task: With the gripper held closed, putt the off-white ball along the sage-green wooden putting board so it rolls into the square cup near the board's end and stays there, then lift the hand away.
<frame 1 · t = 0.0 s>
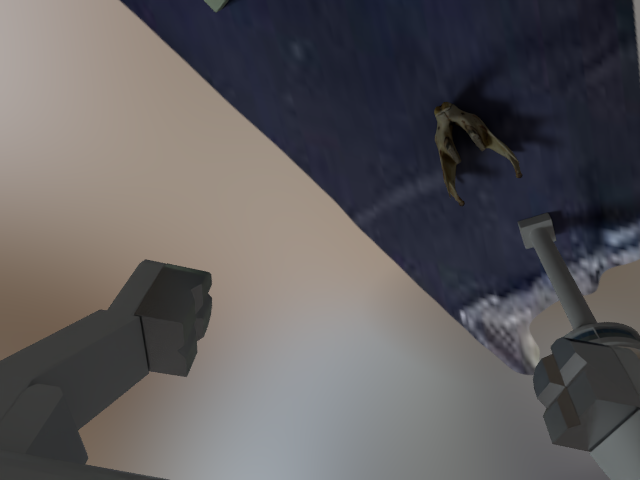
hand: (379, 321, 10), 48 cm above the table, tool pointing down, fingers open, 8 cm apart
jawbone: (458, 133, 56), on the table
model tower: (534, 227, 64), on the table
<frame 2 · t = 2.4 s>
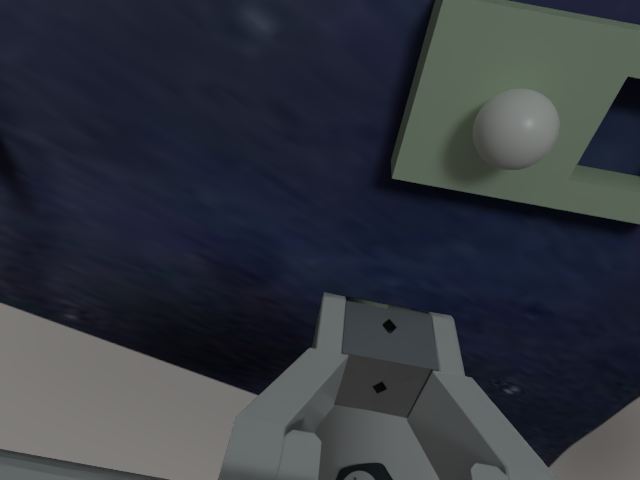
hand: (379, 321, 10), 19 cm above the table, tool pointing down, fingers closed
putting board: (561, 112, 25), on the table
ball: (514, 130, 21), point 4 cm above the table, touching putting board
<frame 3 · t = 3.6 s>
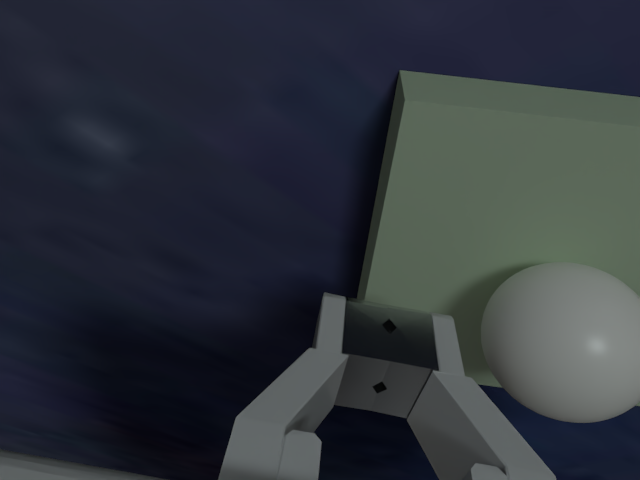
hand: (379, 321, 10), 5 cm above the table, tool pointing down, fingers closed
putting board: (634, 251, 14), on the table
ball: (562, 339, 11), point 4 cm above the table, touching putting board
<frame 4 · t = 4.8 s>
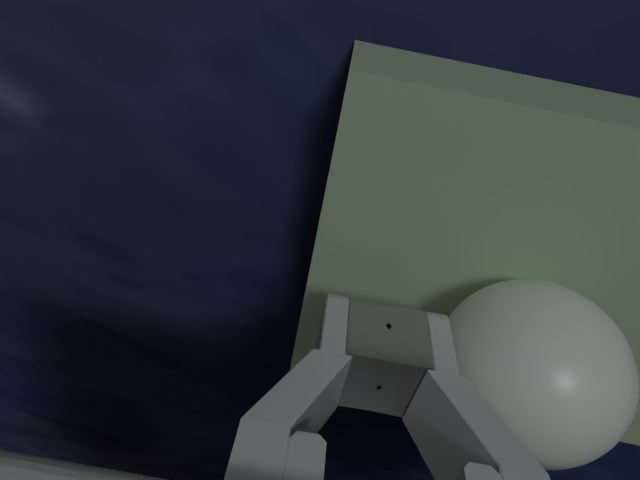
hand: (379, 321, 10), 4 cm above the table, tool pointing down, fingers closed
putting board: (606, 269, 13), on the table
ball: (527, 368, 10), point 4 cm above the table, tilted 7°, touching gripper, putting board
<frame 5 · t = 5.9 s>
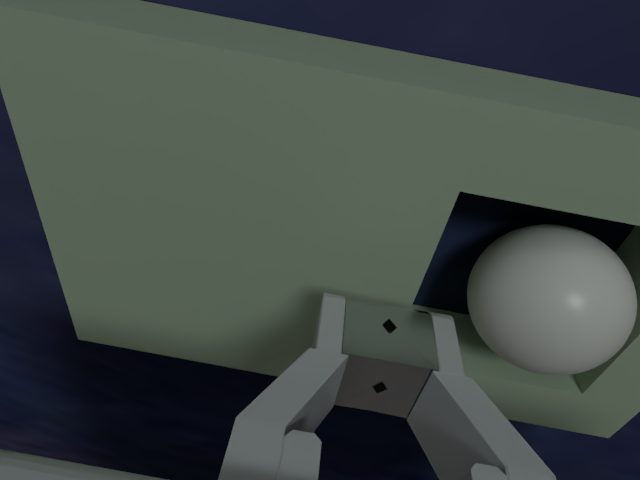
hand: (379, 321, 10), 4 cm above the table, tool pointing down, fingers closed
putting board: (380, 226, 13), on the table
ball: (544, 298, 11), point 2 cm above the table, tilted 90°
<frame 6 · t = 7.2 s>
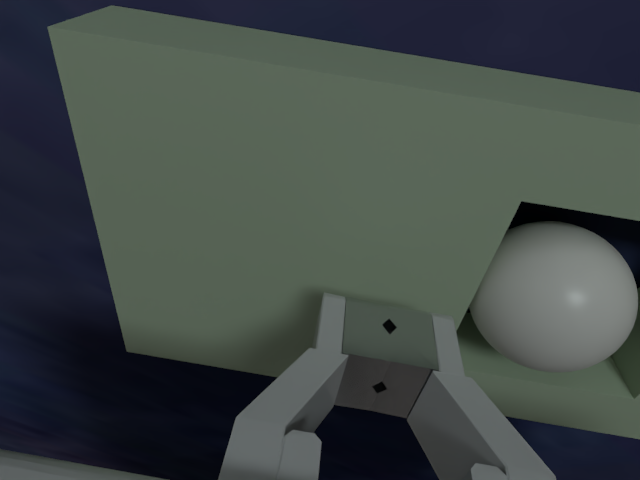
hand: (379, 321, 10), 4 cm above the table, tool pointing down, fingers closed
putting board: (426, 234, 13), on the table
ball: (545, 295, 11), point 2 cm above the table, tilted 132°
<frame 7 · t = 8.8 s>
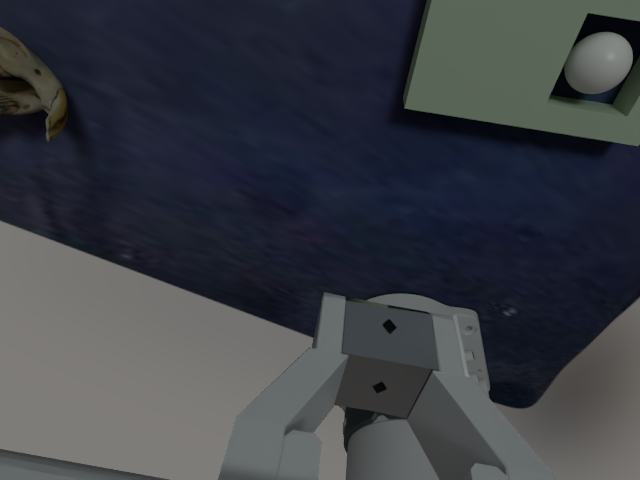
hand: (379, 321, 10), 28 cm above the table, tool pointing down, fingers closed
putting board: (540, 49, 31), on the table
jawbone: (21, 64, 36), on the table
ball: (597, 63, 30), point 2 cm above the table, tilted 122°
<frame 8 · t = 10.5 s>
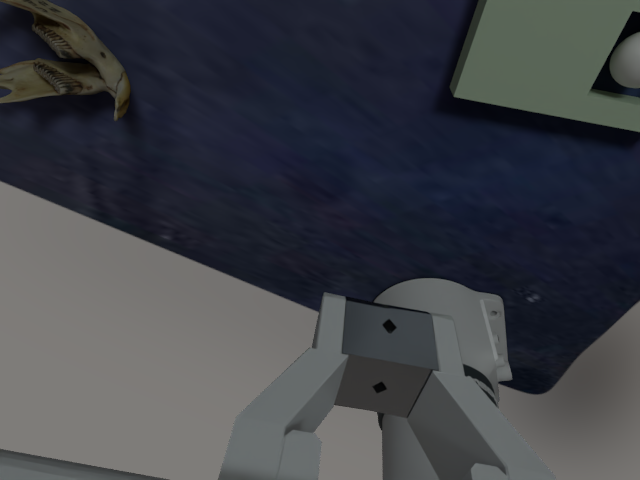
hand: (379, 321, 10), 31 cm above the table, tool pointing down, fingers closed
putting board: (582, 45, 34), on the table
jawbone: (82, 47, 38), on the table
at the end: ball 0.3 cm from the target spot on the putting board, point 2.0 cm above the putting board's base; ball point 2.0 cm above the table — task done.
